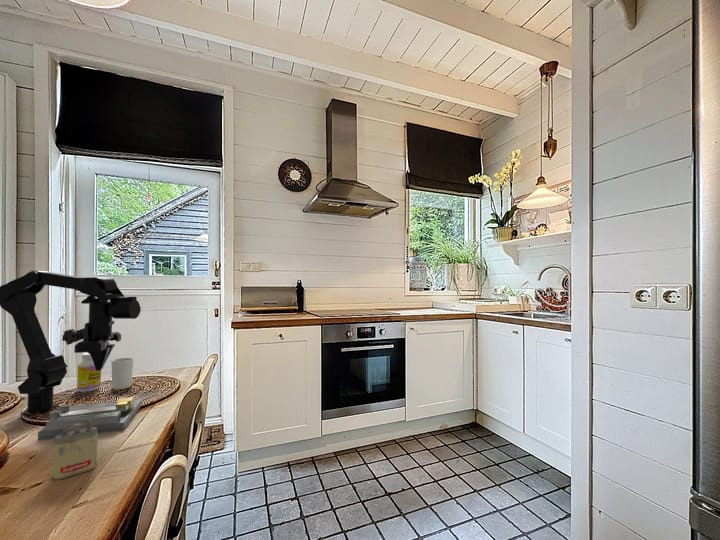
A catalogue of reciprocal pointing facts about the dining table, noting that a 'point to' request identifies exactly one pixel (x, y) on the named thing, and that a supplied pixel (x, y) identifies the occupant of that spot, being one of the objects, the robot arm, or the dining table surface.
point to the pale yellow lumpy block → (125, 402)
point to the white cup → (122, 372)
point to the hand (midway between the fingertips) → (99, 370)
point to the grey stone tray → (100, 421)
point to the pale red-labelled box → (75, 450)
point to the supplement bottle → (87, 375)
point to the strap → (94, 411)
